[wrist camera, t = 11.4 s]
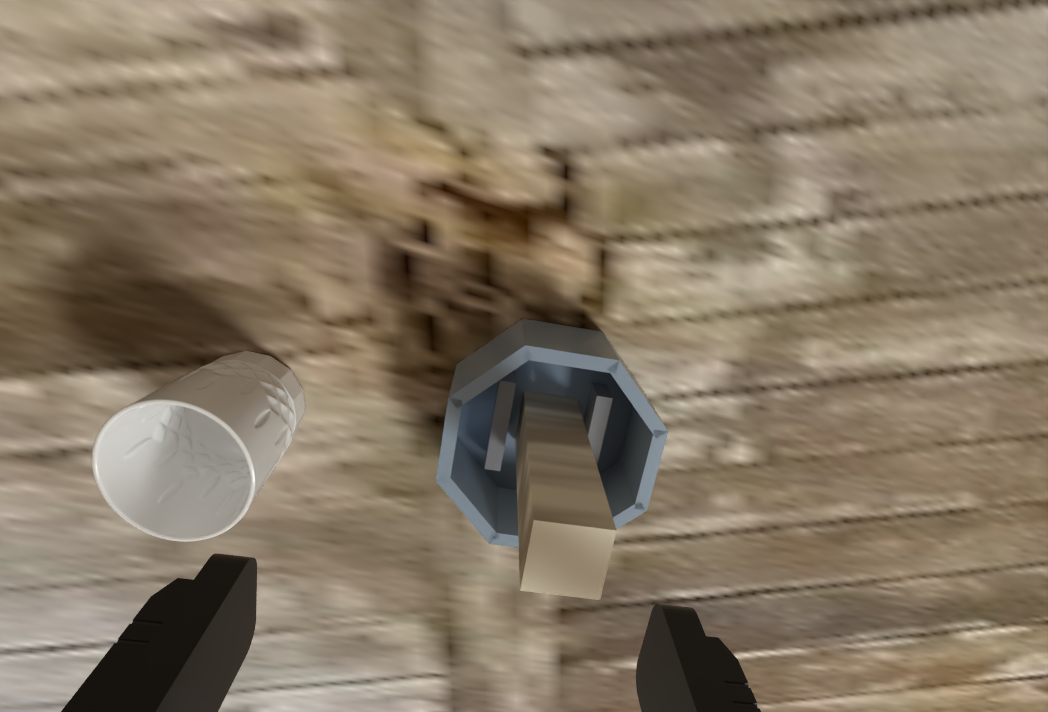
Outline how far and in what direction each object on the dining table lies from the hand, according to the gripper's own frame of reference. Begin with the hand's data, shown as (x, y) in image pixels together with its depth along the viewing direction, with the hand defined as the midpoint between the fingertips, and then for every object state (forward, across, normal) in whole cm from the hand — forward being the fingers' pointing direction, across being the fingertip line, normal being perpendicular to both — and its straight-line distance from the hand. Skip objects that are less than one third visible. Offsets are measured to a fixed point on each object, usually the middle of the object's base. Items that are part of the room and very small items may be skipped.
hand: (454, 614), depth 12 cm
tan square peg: (+26, -5, +8) cm, 28 cm away
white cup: (+27, +14, +9) cm, 32 cm away
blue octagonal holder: (+27, -5, +8) cm, 28 cm away
